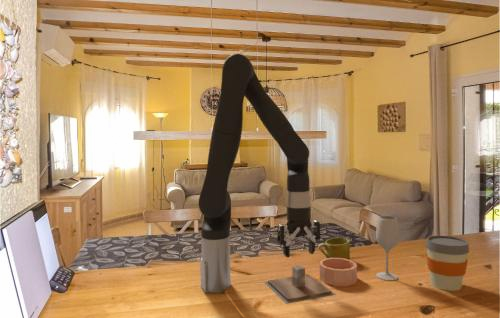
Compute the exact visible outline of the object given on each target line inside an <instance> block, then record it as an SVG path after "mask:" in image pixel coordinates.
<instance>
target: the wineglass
mask: <svg viewBox="0 0 500 318" xmlns="http://www.w3.org/2000/svg"><path fill="white" fill-rule="evenodd" d="M375 238H376V241H377V244H378V245H379V246H380V247H381V249H383V250H384V251H385V254H386V255H385V271H380V272H376V274H375V277H376V278H377V277H378V278H377V279H380V280H383V281H386V282H387V281H389V282H390V281H396V280H398V279H399V277H398V275H397V274H395V273H392V272H389V253H390V251H391V250H393V249H394V248H395V247H396V246H397V245H398V243H399V242H400V227H399V223H398V217H396V216H393V215H380V216H378V218H377V224H376V229H375Z"/></svg>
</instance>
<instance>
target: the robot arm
mask: <svg viewBox="0 0 500 318" xmlns="http://www.w3.org/2000/svg"><path fill="white" fill-rule="evenodd" d="M220 85H221V87H220V94H219V95H220V96H219V102H218V105H217V108H216V112H215V118H214V122H213V127H212V131H211V137H210V142H209V150H208V156H207V165H206V167H207V168H206V172H205V176H204V181H203V185H202V187H201V190H200V194H199V198H198V208H199V211H200V213H201V214H202V216H203V220H202V221H203V222H202V227H201V230H200V231H201V233H200V234H201V236H200V237H201V257H200V259H199V260H200V262H199V263H200V287H201V289H202V291H203V292H204V294H205V293H211V294H212V293H214V294H218V293H224V292H226V290H228V289H230V287H231V235H230V233H231V226H232V200H231V199H232V198H231V195H230V193H229V191H228V186H229V185H228V184H229V178H230V175H231V171H232V169H233V167H234V165H235V161H236V158H237V155H238V153H239V150H240V146H241V145H240V144H241V139H242V133H243V120H244V118H243V117H244V114H243V111H244V109H243V108H244V99H245V98H246V100H247V101H248V102H249V104H250V105H251V107H252V108H253V110H254V112H255V113H256V114H257V116H258V118H259V120H260V121H261V123H262V125H263V126H264V127H265V129H266V130H267V131H268V133H269V134H270V135H271V137H272V138H273V139H274V141H275V142H276V143H277V144H278V146H279V148H280V149H281V151H282V152H283V155H285V157H286V165H287V166H286V167H287V175H286V190H287V192H286V220H287V222H286V224H281V223H279V224H277V234H276V235H277V239H276V240H277V241H276V242H277V243H278V244H279V245H281V246H282V251H283V252H282V254H283V255H284V257H285V258H290V256H291V255H290V254H291V252H290V251H291V250H290V249H291V247H290V244H292V241H294V239H295V238H300V237H301V238H303V237H306V238H307V239H308V241H307V242H308V245H307V246H308V253H309V254H311V255H313V254H314V253H315V251H316V242H317V241H319V240H321V238H322V237H321V236H322V235H321V224H320V221H318V220H316V219H313V220H312V221H311V218H312V215H311V214H312V213H311V211H312V210H311V209H312V208H311V207H312V206H311V193H310V174H309V157H310V150H309V148H308V145H306V143H305V142H304V141H303V139H302V138H301V137H300V135H298V133H297V132H296V130H295V129H294V127H293V125H292V123H291V122H290V120H289V119H288V118H287V117H286V115H285V114H284V112H283V111H282V110H281V108H279V106H278V105H277V104H276V102H274V100H273V99H272V97H270V95H269V94H268V93H267V91H266V90H265V88H264V86H263V85H262V83H261V82H260V79H259V78H258V75H257V74H256V71H255V70H254V66H253V63H252V62H251V60H250V59H249V58H248V57H247V56H245V55H243V54H241V53H234V54H231V55H230V56H228V57H227V58H226V59H225V61H224V63H223V65H222V71H221V83H220ZM311 228H312V230H313V231H312V232H311V231H310V229H311ZM286 231H287V232H286ZM285 232H286V233H285Z"/></svg>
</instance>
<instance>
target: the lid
mask: <svg viewBox="0 0 500 318" xmlns="http://www.w3.org/2000/svg"><path fill="white" fill-rule="evenodd" d="M291 268H292V271H291V272H292V273H291V275H292V276H288V277H282V278H277V279H276V278H275V279H269V280H267V282H268V283H269V284H270V285H271V286H272V287H273V288H274V289H275V290H276V291H277V292H278V293H279V294H280V295H281V296H282V297H283V298H285V299H286V300H287V301H288V302H289V301H294V300H300V299H305V298H311V297H316V296H322V295H327V294H332V292H333V291H332V290H331V289H329V288H328V287H327V286H325V285H324V284H323V283H321V282H320V281H318V280H317V279H315V278H314V277H312V276H311V275H310V274H309V273H308V274H306V267H304V266H303V265H299V264H298V265H293V266H292V267H291Z"/></svg>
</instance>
